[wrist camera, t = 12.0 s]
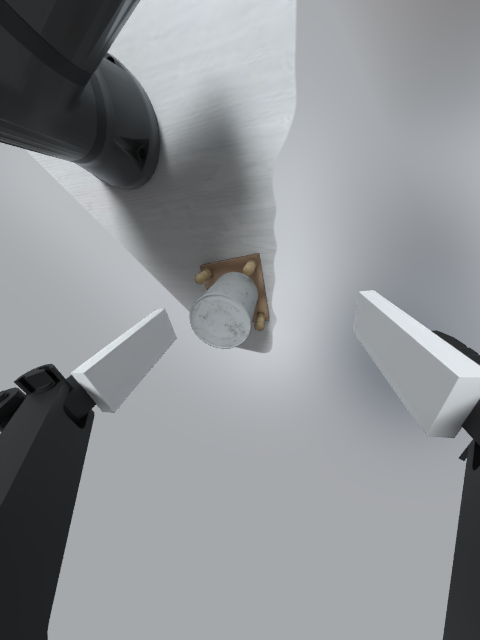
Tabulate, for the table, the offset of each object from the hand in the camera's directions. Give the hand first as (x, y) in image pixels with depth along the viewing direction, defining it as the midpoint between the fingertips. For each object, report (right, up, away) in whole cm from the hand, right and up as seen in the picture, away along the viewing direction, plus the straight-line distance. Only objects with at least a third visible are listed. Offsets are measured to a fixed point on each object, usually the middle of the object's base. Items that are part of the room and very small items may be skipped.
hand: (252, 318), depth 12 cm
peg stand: (-1, +6, +27) cm, 27 cm away
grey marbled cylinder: (-2, +5, +25) cm, 26 cm away
